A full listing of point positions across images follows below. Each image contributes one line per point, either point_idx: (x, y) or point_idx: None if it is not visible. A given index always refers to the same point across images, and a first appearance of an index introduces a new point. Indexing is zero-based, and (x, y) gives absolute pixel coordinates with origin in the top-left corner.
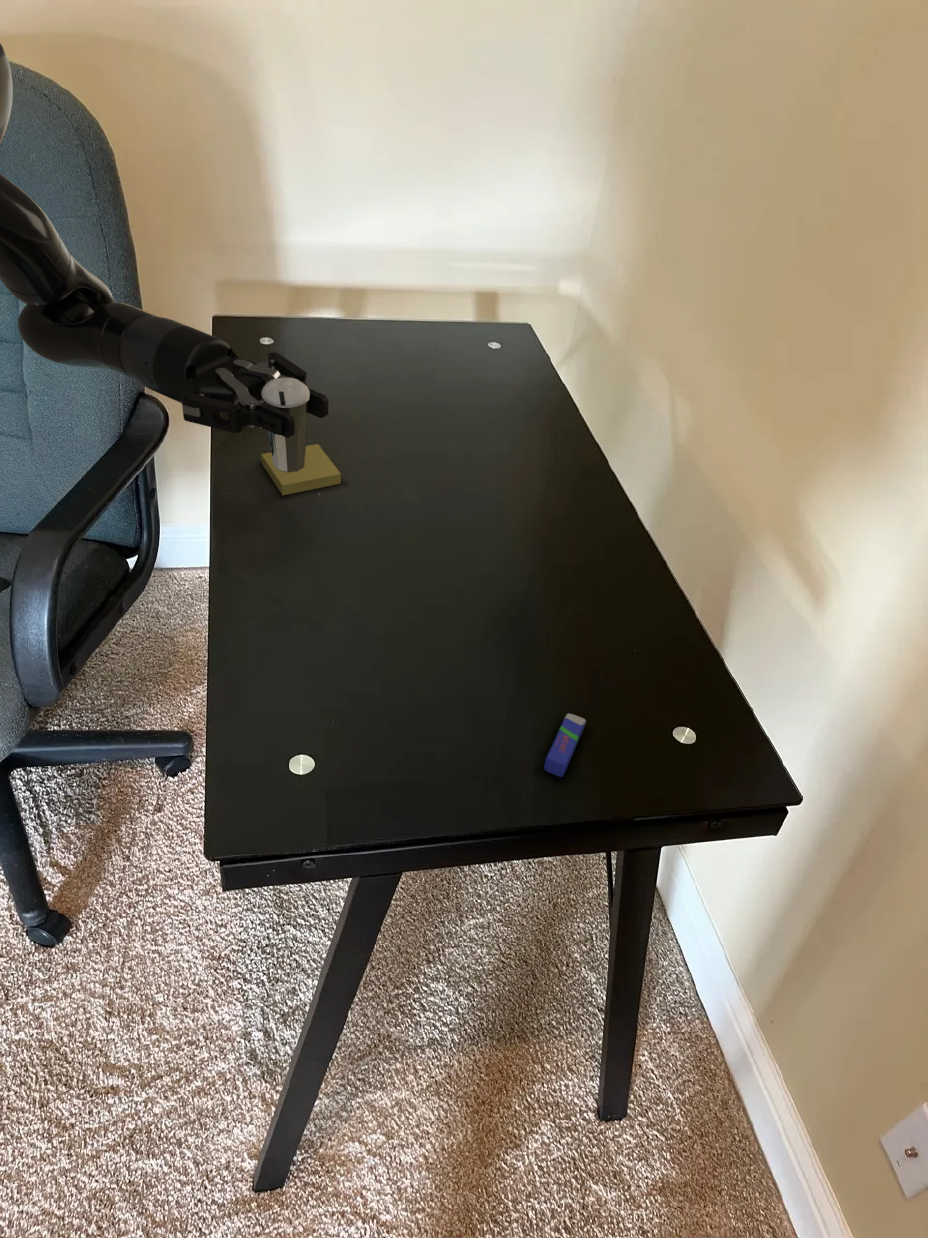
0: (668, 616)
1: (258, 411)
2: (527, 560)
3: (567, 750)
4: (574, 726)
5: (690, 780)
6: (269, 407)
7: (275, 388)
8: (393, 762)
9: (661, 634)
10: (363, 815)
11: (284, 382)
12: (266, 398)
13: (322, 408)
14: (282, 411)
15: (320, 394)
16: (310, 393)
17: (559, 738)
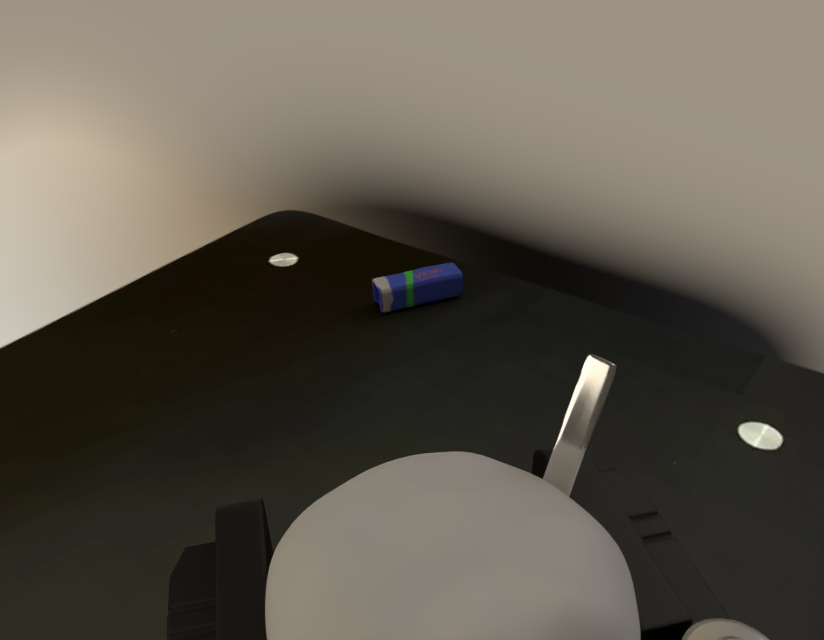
0: (57, 338)
1: (702, 619)
2: (14, 533)
3: (433, 268)
4: (393, 279)
5: (341, 239)
6: (628, 566)
7: (544, 549)
8: (624, 379)
9: (110, 328)
10: (705, 354)
11: (445, 547)
12: (630, 584)
13: (270, 542)
14: (572, 495)
15: (224, 536)
16: (264, 574)
17: (426, 277)
